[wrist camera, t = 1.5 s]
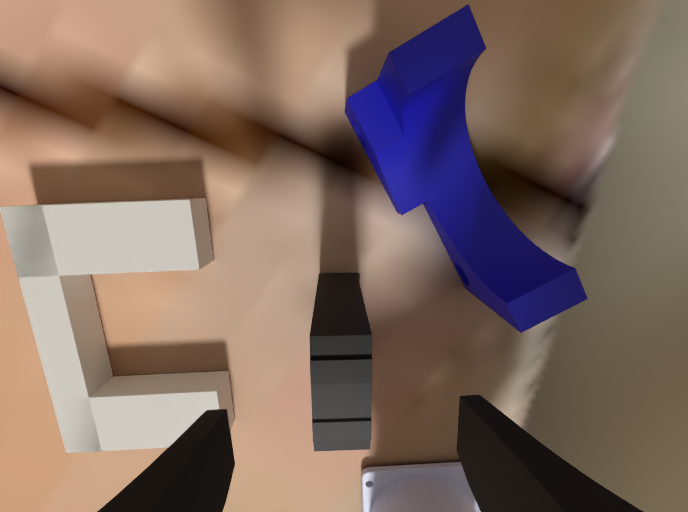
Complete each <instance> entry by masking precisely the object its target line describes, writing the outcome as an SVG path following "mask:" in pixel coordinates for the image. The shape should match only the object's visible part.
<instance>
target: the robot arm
mask: <svg viewBox="0 0 688 512" xmlns="http://www.w3.org/2000/svg"><path fill="white" fill-rule="evenodd" d="M457 453H458V456H459V459H460V462H450V463H432V464H415V465H397V466H379V467H367V468H365V469H363V471H362V473H361V478H362V511H363V512H479V509H480V511H481V512H643V511H641V510H639V509H638V508H636V507H634V506H633V505H631V504H630V503H628V502H627V501H625V500H623V499H622V498H620V497H618V496H617V495H615V494H614V493H612V492H611V491H609V490H607V489H606V488H604V487H603V486H601V485H600V484H598V483H597V482H595V481H594V480H592V479H591V478H589V477H588V476H586V475H585V474H583V473H582V472H580V471H579V470H578V469H576V468H575V467H573V466H572V465H570V464H569V463H568V462H566V461H565V460H563V459H562V458H560V457H559V456H558V455H556V454H555V453H553V452H552V451H551V450H550V449H548V448H547V447H546V446H544V445H543V444H542V443H540V442H539V441H538V440H536V439H535V438H534V437H532V436H531V435H530V434H528V433H527V432H526V431H525V430H523V429H522V428H521V427H520V426H518V425H517V424H516V423H514V422H513V421H512V420H511V419H509V418H508V417H507V416H506V415H504V414H503V413H502V412H501V411H499V410H498V409H497V408H496V407H494V406H493V405H492V404H491V403H489V402H488V401H487V400H486V399H484V398H483V397H482V396H480V395H467V396H460V403H459V420H458V437H457ZM234 465H235V462H234V455H233V448H232V441H231V434H230V427H229V420H228V413H227V409H216V410H206V411H205V412H204V413H203V414H202V415H201V416H200V417H199V418H198V419H197V420H196V421H195V422H194V423H193V424H192V425H191V426H190V427H189V428H188V429H187V430H186V431H185V432H184V433H183V434H182V435H181V436H180V437H179V438H178V439H177V440H176V441H175V442H174V443H173V444H172V445H171V446H170V447H168V448H167V449H166V450H165V451H164V452H163V453H162V454H161V455H160V456H159V457H158V458H157V459H156V460H155V461H154V462H153V463H152V464H151V465H150V466H149V467H148V468H146V469H145V470H144V471H143V472H142V473H141V474H140V475H139V476H138V477H136V478H135V479H134V480H133V481H132V482H131V483H130V484H129V485H127V486H126V487H125V488H124V489H123V490H122V491H121V492H120V493H119V494H117V495H116V496H115V497H114V498H113V499H112V500H111V501H110V502H108V503H107V504H106V505H105V506H104V507H102V508H101V509H100V510H99V511H98V512H222V511H223V508H224V505H225V502H226V498H227V494H228V491H229V487H230V482H231V478H232V474H233V469H234ZM367 481H371V482H367Z"/></svg>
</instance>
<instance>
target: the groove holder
mask: <svg viewBox="0 0 688 512" xmlns="http://www.w3.org/2000/svg"><path fill="white" fill-rule="evenodd" d="M0 212H1V216H2V220H3V223H4V227H5V231H6V234H7V238H8V242H9V245H10V249H11V253H12V256H13V260H14V264H15V267H16V271H17V274H18V278H19V282H20V285H21V289H22V293H23V296H24V300H25V304H26V307H27V311H28V315H29V318H30V322H31V326H32V329H33V333H34V337H35V340H36V344H37V348H38V351H39V355H40V359H41V362H42V366H43V370H44V373H45V377H46V380H47V384H48V388H49V391H50V395H51V399H52V402H53V406H54V410H55V413H56V417H57V421H58V424H59V428H60V432H61V435H62V439H63V443H64V446H65V450H66V453H76V452H95V451H113V450H131V449H149V448H167V447H170V446H171V445H172V444H173V443H174V442H175V441H176V440H177V439H178V438H179V437H180V436H181V435H182V434H183V433H184V432H185V431H186V430H187V429H188V428H189V427H190V426H191V425H192V424H193V423H194V422H195V421H196V420H197V419H198V418H199V417H200V416H201V415H202V414H203V413H204V412H205V411H206V410H216V409H227V413H228V420H229V427H230V430H231V427H232V425H233V422H234V420H235V418H234V410H233V403H232V395H231V388H230V380H229V372H228V371H212V372H192V373H172V374H152V375H132V376H113V374H112V369H111V365H110V360H109V356H108V351H107V347H106V342H105V337H104V333H103V328H102V324H101V319H100V315H99V310H98V306H97V301H96V297H95V292H94V288H93V283H92V279H91V274H110V273H133V272H156V271H179V270H200V269H201V268H203V267H204V266H206V265H207V264H209V263H211V262H212V261H214V258H213V250H212V242H211V235H210V227H209V219H208V212H207V204H206V198H189V199H163V200H137V201H111V202H85V203H60V204H35V205H21V206H7V207H0Z"/></svg>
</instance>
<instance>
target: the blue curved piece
mask: <svg viewBox="0 0 688 512" xmlns="http://www.w3.org/2000/svg"><path fill="white" fill-rule="evenodd" d="M485 49H486V47H485V44H484V42H483V39H482V37H481V34H480V32H479V29H478V27H477V24H476V22H475V19H474V17H473V14H472V12H471V9H470V7H469V5H466V6H465V7H463V8H461V9H460V10H458V11H457V12H455V13H453V14H452V15H450V16H448V17H447V18H445V19H443V20H442V21H440V22H438V23H437V24H435V25H434V26H432V27H430V28H429V29H427V30H425V31H424V32H422V33H420V34H419V35H417V36H415V37H414V38H412V39H411V40H409V41H407V42H406V43H404V44H402V45H401V46H399V47H397V48H396V49H394V50H392V51H391V52H389V54H388V56H387V58H386V61H385V63H384V65H383V68H382V70H381V72H380V75H379V77H378V80H377V81H375V82H373V83H372V84H370V85H368V86H367V87H365V88H363V89H362V90H360V91H358V92H357V93H355V94H353V95H352V96H350V97H348V98H347V102H346V108H345V113H346V115H347V117H348V119H349V121H350V123H351V125H352V127H353V129H354V131H355V133H356V135H357V136H358V138H359V140H360V142H361V144H362V146H363V148H364V150H365V152H366V154H367V156H368V158H369V159H370V161H371V163H372V165H373V167H374V169H375V171H376V173H377V175H378V177H379V179H380V181H381V183H382V184H383V186H384V188H385V190H386V192H387V194H388V196H389V198H390V200H391V202H392V204H393V206H394V207H395V209H396V211H397V213H399V214H401V215H403V214H405V213H407V212H408V211H410V210H412V209H414V208H416V207H417V206H419V205H421V204H424V206H425V208H426V210H427V212H428V214H429V216H430V218H431V220H432V222H433V224H434V226H435V228H436V230H437V232H438V234H439V236H440V238H441V240H442V242H443V244H444V246H445V248H446V250H447V252H448V254H449V256H450V258H451V260H452V262H453V264H454V266H455V268H456V270H457V272H458V274H459V276H460V278H461V280H462V282H463V284H464V286H465V288H466V289H467V290H468V291H469V292H471V293H472V294H473V295H474V296H476V297H477V298H478V299H479V300H481V301H482V302H483V303H484V304H486V305H487V306H488V307H489V308H491V309H492V310H493V311H494V312H496V313H497V314H498V315H499V316H501V317H502V318H503V319H504V320H506V321H507V322H508V323H509V324H511V325H512V326H513V327H514V328H516V329H517V330H518V331H519V332H523V331H525V330H527V329H529V328H531V327H533V326H535V325H537V324H539V323H541V322H543V321H545V320H547V319H549V318H551V317H553V316H555V315H557V314H559V313H561V312H563V311H565V310H567V309H569V308H571V307H573V306H575V305H577V304H579V303H580V302H582V301H584V300H586V299H587V296H586V294H585V291H584V289H583V287H582V284H581V282H580V279H579V276H578V274H577V271H576V269H575V268H573V267H571V266H568V265H566V264H564V263H562V262H560V261H558V260H556V259H555V258H553V257H551V256H550V255H548V254H547V253H545V252H544V251H543V250H541V249H540V248H539V247H537V246H536V245H535V244H534V243H533V242H532V241H530V240H529V239H528V238H527V237H526V236H525V235H524V234H523V233H522V232H521V231H520V230H519V229H518V228H517V227H516V226H515V224H514V223H513V222H512V221H511V220H510V219H509V217H508V216H507V215H506V213H505V212H504V211H503V209H502V208H501V207H500V205H499V204H498V202H497V201H496V199H495V198H494V196H493V194H492V193H491V191H490V189H489V187H488V186H487V184H486V182H485V180H484V178H483V176H482V174H481V171H480V169H479V167H478V164H477V162H476V159H475V156H474V153H473V150H472V147H471V143H470V140H469V135H468V130H467V124H466V115H465V95H466V87H467V83H468V78H469V75H470V72H471V70H472V68H473V66H474V64H475V62H476V60H477V59H478V57H479V56H480V55H481V53H482V52H483V51H484V50H485Z"/></svg>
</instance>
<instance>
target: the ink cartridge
mask: <svg viewBox="0 0 688 512" xmlns="http://www.w3.org/2000/svg"><path fill="white" fill-rule="evenodd" d="M359 278H360V275H359V273H325V274H319V278H318V284H317V291H316V298H315V304H314V311H313V318H312V325H311V331H310V373H311V394H312V426H313V442H314V451H333V450H364V449H370V440H371V396H372V334H371V330H370V325H369V321H368V317H367V313H366V309H365V304H364V300H363V296H362V292H361V288H360V284H359Z"/></svg>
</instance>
